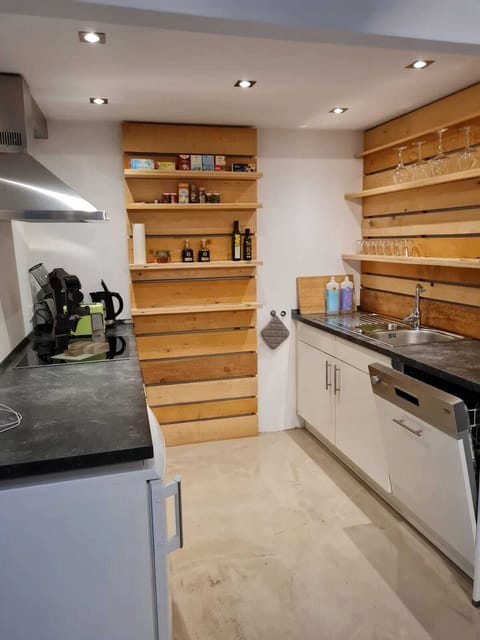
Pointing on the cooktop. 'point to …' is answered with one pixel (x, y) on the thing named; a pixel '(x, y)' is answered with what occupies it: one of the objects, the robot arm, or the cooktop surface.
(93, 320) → the coffee box
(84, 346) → the birch riser
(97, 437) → the cooktop surface
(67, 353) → the walnut tile
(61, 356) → the sage mat
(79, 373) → the cooktop surface
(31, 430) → the cooktop surface
